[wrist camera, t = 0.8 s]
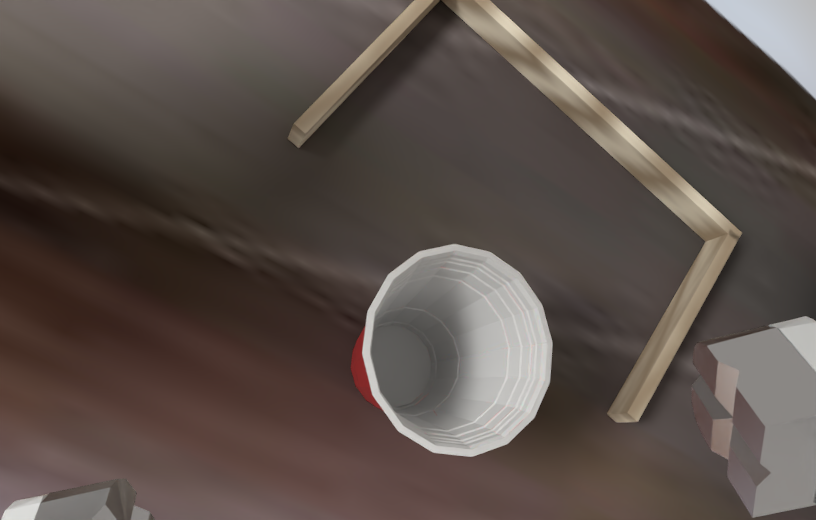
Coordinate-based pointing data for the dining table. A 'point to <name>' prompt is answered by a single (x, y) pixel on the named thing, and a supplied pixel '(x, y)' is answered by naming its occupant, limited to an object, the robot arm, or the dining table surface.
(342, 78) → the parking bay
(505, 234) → the dining table surface
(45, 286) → the dining table surface
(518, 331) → the plastic cup
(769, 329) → the robot arm
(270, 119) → the dining table surface
